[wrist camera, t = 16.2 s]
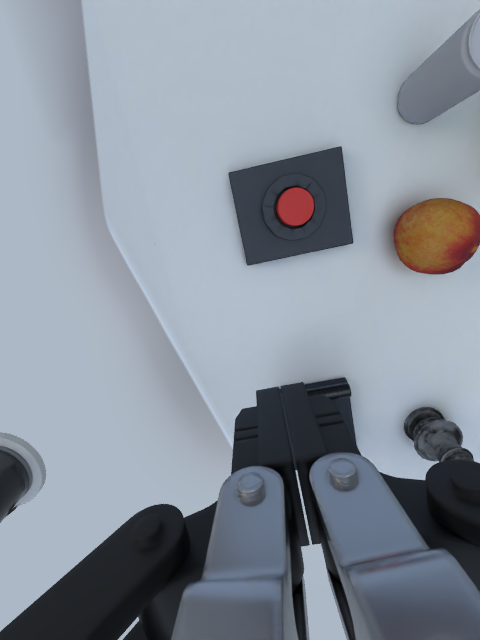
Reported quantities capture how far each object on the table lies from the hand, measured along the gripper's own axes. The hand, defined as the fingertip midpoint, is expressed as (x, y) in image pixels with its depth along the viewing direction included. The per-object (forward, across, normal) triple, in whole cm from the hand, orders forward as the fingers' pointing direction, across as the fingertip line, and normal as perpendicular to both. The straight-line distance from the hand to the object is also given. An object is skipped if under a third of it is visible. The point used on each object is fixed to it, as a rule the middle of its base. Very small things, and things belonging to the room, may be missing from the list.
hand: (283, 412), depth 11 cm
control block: (+31, -5, -7) cm, 32 cm away
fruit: (+31, -19, -1) cm, 36 cm away
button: (+27, -5, -7) cm, 28 cm away
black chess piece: (+31, -18, +24) cm, 43 cm away
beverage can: (+31, -20, -15) cm, 40 cm away
